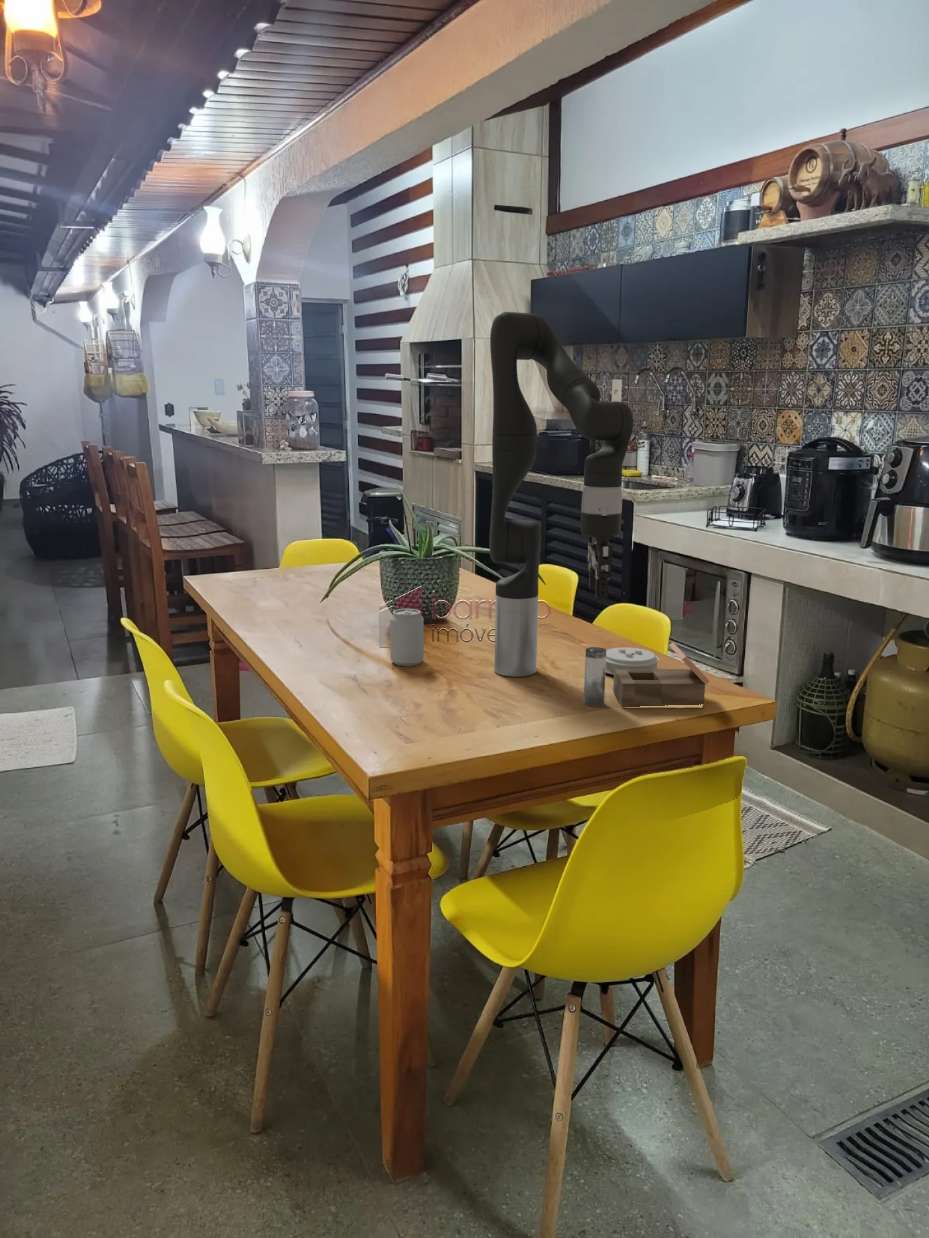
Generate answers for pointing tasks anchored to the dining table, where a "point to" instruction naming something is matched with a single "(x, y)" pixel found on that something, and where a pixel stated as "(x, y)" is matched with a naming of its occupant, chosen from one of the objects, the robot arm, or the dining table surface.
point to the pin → (594, 676)
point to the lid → (629, 659)
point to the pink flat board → (689, 663)
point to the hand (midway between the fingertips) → (598, 594)
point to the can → (407, 637)
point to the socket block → (657, 687)
